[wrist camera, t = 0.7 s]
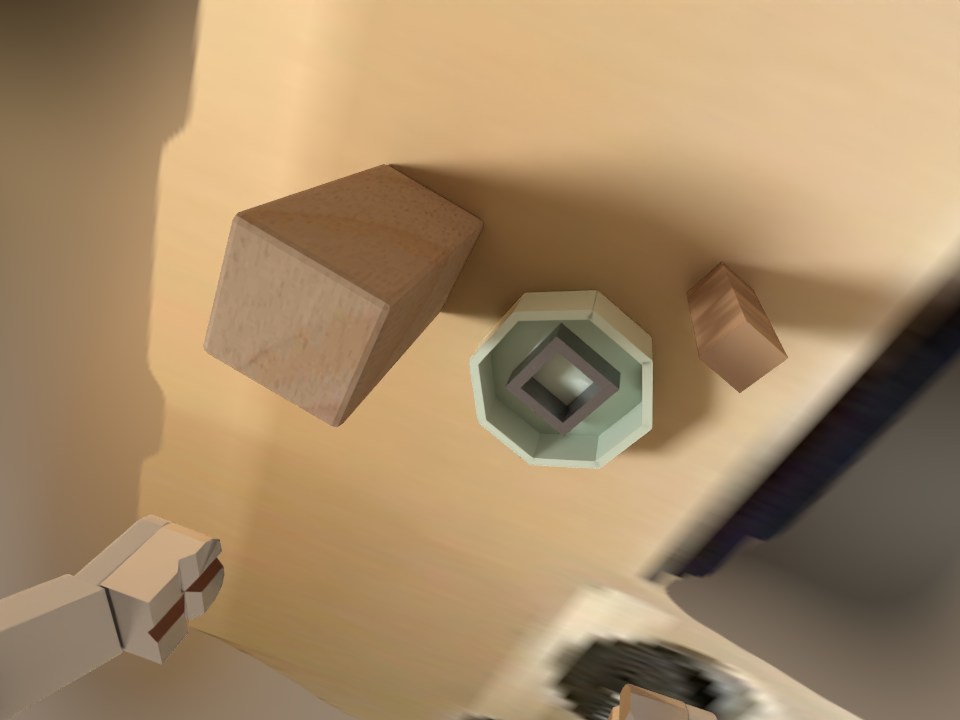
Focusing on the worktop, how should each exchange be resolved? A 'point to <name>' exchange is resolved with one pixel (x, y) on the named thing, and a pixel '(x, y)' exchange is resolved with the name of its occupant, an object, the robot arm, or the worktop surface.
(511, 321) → the octagonal green tray
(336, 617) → the worktop surface
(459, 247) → the wooden block
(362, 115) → the worktop surface
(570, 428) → the square frame
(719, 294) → the wooden rectangular beam
